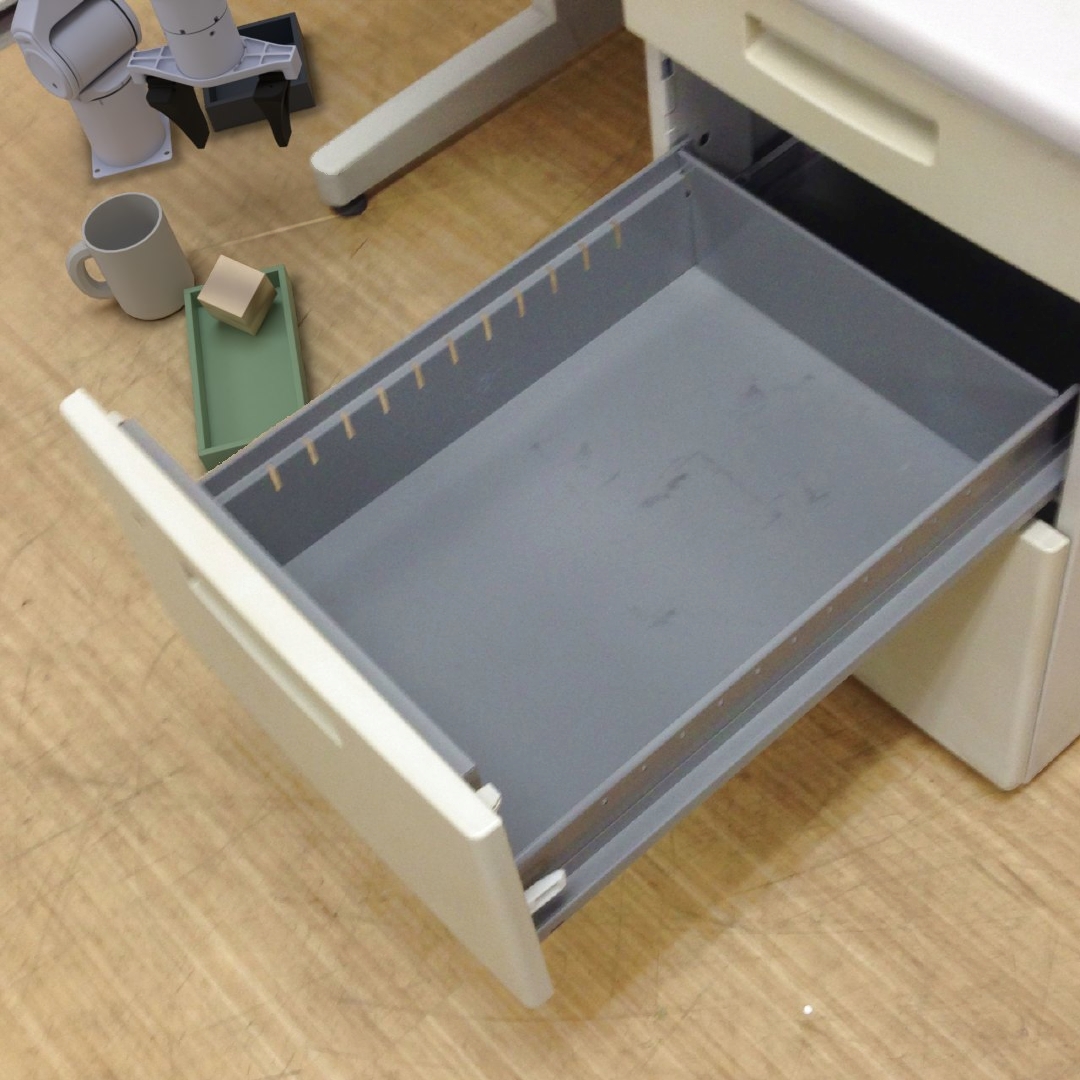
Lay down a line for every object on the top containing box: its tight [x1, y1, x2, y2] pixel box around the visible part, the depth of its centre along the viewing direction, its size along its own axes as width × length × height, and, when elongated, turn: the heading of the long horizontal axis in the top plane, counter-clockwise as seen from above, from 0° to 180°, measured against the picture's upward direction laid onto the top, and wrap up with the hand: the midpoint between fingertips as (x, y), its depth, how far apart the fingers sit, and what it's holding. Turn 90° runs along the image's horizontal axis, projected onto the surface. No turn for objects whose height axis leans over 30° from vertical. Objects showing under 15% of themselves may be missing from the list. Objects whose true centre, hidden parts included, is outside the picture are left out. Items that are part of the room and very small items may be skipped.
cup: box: [65, 191, 195, 321], centre depth 134 cm, size 7×10×9 cm
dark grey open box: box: [202, 11, 316, 133], centre depth 151 cm, size 11×10×4 cm
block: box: [197, 254, 278, 336], centre depth 131 cm, size 4×4×4 cm
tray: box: [184, 263, 310, 473], centre depth 130 cm, size 19×9×2 cm, turn 12°
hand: (244, 140), depth 134 cm, fingers open, 7 cm apart
